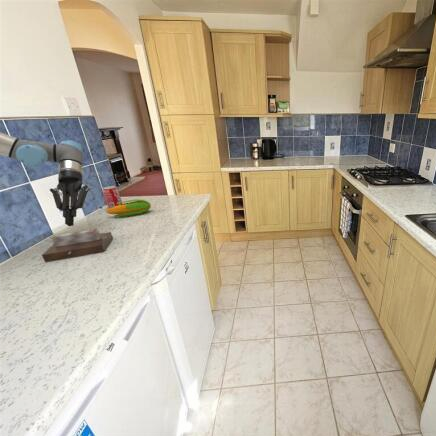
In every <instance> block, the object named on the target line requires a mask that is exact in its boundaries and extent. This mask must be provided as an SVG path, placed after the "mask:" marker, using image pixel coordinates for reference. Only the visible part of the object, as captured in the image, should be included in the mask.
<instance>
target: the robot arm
mask: <svg viewBox="0 0 436 436" xmlns="http://www.w3.org/2000/svg"><path fill="white" fill-rule="evenodd" d="M83 152H84V151H83V147H82V145H81V144H80V143H78V142H76V141H74V140H70V139H67V140H62V141H61V142H60V143H59V144H54V143H47V142H41V141H34V140H31V139H30V140H29V139H28V140H27V139H20V138H17V137H16V136H15V137H14V136H12V135H9V134H6V133H4V132H1V131H0V156H4V157H7V158H10V159H13V160H16V161H19V162H20V163H22V164H23V165H26V166H29V167H39V166H42V165H44V164H45V163H46V162H50V163H58V176H57V182H58V183H57V185H56V187H54V188H49V191H50V193H51V194H52V197H53V201H54V204H55V207H56V209H58V210H59V211H62V218H64V224H65V225H66V226H68V227H73V226H74V225H75V224H74V223H75V218H76V217H77V212H78V210H79V209H83V207H84V203H85V201H86V197H87V195H88V192H89V191H90V190H91V188H90V187H89V186H88V184H84V183H83V163H84V162H83V161H84V160H83V159H84V158H83V157H84V155H83ZM60 192H61V194H62V198H61V195H60Z"/></svg>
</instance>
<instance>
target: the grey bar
mask: <svg viewBox="0 0 436 436" xmlns="http://www.w3.org/2000/svg"><path fill="white" fill-rule="evenodd" d="M100 234H101V232H100V230H99V228H93V229H87V230H81V231H74V232H68V233H60V234H54V235H52V236H51V237H50V239H51V240H52V243H53V244H54V245H55V247H59V246H65V245H71V244H78V243H84V242H90V241H96V240H100V239H101V236H100Z"/></svg>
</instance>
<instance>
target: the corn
mask: <svg viewBox="0 0 436 436" xmlns="http://www.w3.org/2000/svg"><path fill="white" fill-rule="evenodd" d="M120 203H122V204H121V205H118V206H115V207H112V208H108V209H106V211H105V212H106V213H107V214H109V215H113V217H114V218H115V217H116V218H119V217H120V218H121V217H122V218H123V217H130V216H136V215H137V216H138V215H143V214H145V213H147V212H148V211H149V210H150V209H151V203H150V202H149V201H148V200H145V199H131V200H125V201H122V202H120ZM117 204H119V203H117Z"/></svg>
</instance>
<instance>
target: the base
mask: <svg viewBox="0 0 436 436" xmlns="http://www.w3.org/2000/svg"><path fill="white" fill-rule="evenodd" d="M100 236H101V239H100V240H96V241H90V242H84V243H78V244H71V245H65V246H59V247H55V245H54V243H53V244H52V245H51V246H49V248H48V249H46V250H45V251H44V252H43V253H42V254H41V257H42V258H43V261H44V262H45V263H48V262H54V261H59V260H66V259H73V258H77V257H83V256H89V255H94V254H100V253H104V252H105V251H106V250H107V249H108V247H109V245H110V244H111V242H112V241H113V239H114V237H113V236H114V235H113V234H112V232H111V231H108V232H102V233H101V232H100Z"/></svg>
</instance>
